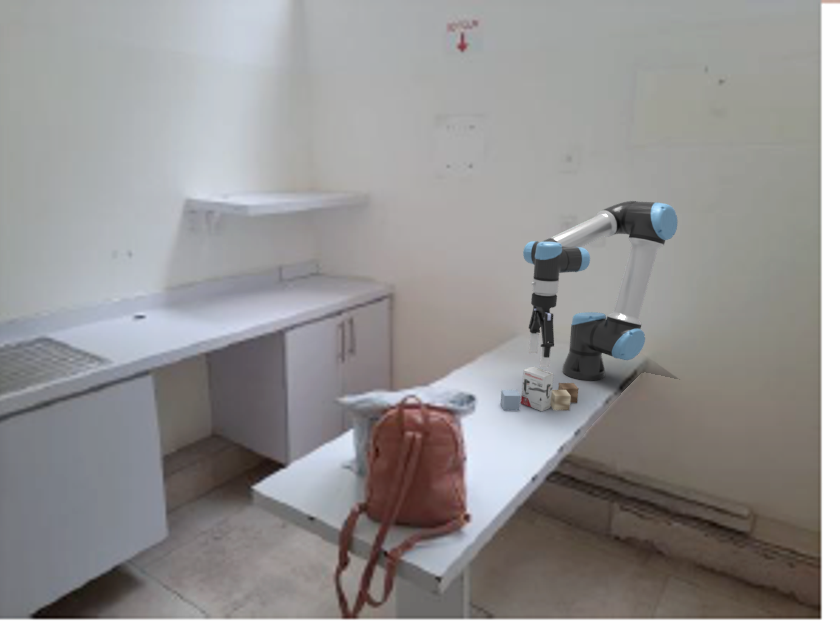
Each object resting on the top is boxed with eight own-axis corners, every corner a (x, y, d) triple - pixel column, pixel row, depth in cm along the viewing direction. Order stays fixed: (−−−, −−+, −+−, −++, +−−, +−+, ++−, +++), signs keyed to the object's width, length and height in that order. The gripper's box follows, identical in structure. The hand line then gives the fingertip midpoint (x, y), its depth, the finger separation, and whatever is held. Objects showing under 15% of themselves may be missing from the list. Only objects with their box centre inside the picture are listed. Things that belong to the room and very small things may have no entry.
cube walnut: (572, 397, 193) (573, 383, 192) (577, 403, 188) (578, 388, 187) (557, 397, 192) (558, 383, 191) (562, 403, 188) (563, 388, 186)
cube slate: (515, 404, 186) (516, 389, 184) (519, 410, 181) (520, 395, 180) (500, 404, 185) (501, 389, 184) (503, 410, 180) (504, 395, 179)
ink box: (519, 403, 186) (522, 369, 183) (528, 399, 189) (531, 365, 186) (542, 412, 180) (545, 376, 177) (551, 407, 183) (554, 373, 180)
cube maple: (564, 404, 187) (565, 389, 185) (569, 410, 182) (570, 395, 181) (549, 404, 186) (550, 389, 185) (553, 410, 182) (555, 395, 180)
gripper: (522, 284, 187) (517, 347, 192) (543, 302, 163) (537, 373, 168) (545, 285, 188) (539, 347, 193) (569, 302, 164) (562, 373, 169)
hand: (538, 359), depth 180 cm, fingers open, 13 cm apart
